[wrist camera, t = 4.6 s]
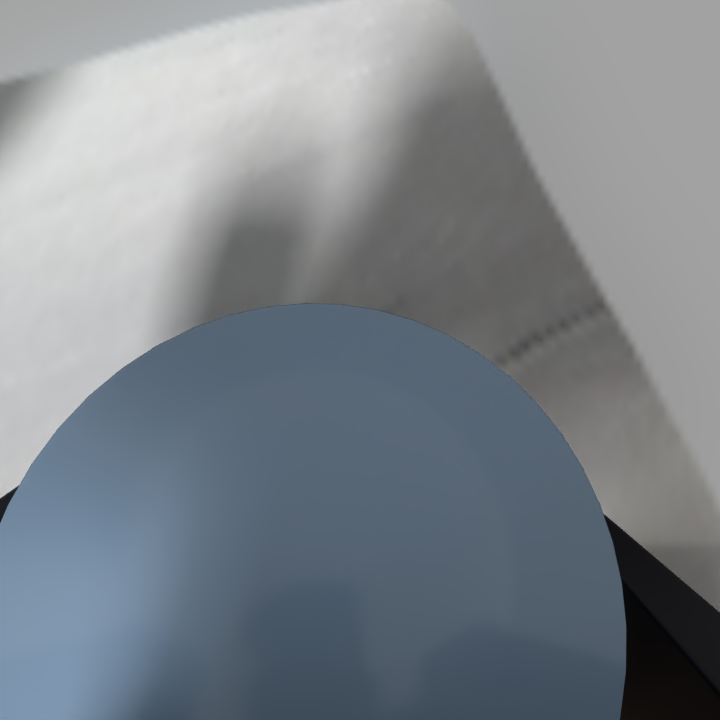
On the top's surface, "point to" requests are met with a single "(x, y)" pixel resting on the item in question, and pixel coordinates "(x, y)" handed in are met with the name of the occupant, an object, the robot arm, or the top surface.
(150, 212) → the top surface
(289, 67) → the top surface
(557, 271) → the top surface
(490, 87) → the top surface
